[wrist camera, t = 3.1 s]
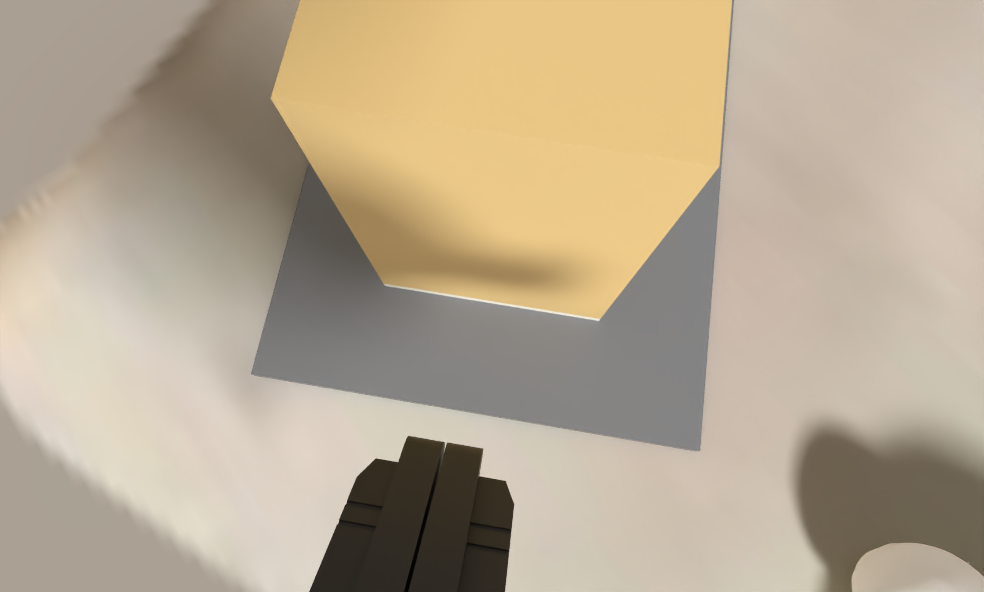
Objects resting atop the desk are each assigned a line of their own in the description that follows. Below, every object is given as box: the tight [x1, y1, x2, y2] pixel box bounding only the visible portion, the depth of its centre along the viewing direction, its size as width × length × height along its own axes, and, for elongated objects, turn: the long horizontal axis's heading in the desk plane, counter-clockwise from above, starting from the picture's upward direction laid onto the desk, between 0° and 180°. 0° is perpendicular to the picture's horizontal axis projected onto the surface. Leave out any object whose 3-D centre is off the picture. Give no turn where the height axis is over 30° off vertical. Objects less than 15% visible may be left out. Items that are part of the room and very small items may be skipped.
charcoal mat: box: [251, 0, 734, 451], centre depth 24 cm, size 16×24×1 cm, turn 170°
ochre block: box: [271, 0, 732, 321], centre depth 17 cm, size 8×4×12 cm, turn 80°
